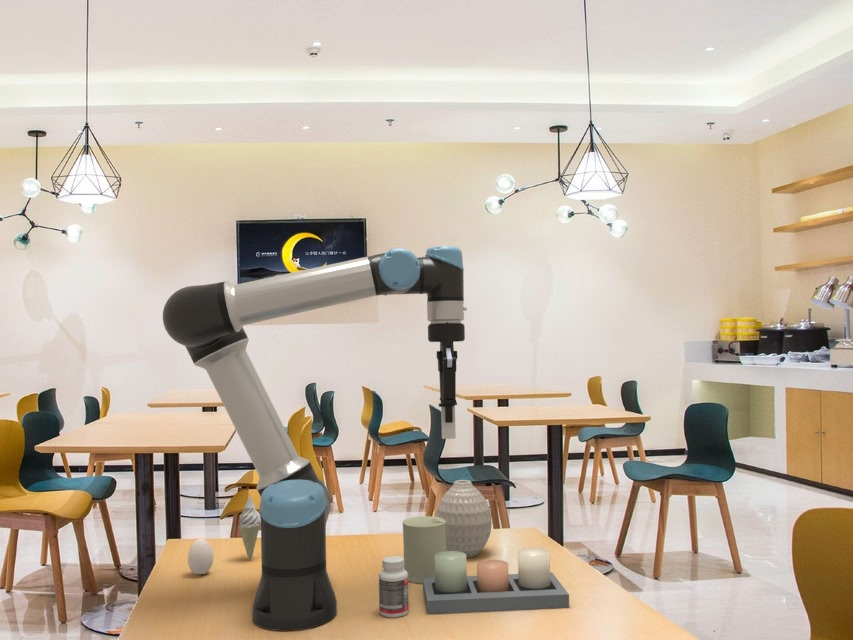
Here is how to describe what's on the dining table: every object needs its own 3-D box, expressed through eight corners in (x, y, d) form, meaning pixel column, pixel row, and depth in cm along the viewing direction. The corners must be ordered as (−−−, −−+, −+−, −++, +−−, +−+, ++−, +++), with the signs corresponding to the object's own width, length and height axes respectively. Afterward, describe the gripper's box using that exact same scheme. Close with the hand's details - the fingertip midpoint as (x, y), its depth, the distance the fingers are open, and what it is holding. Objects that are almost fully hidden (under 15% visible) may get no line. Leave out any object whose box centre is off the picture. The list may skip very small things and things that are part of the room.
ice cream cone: (266, 559, 172) (264, 493, 173) (249, 565, 168) (248, 497, 168) (250, 556, 175) (249, 491, 175) (234, 561, 171) (232, 495, 171)
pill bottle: (411, 616, 135) (410, 561, 135) (382, 619, 134) (380, 564, 134) (405, 606, 140) (404, 553, 140) (377, 609, 139) (376, 556, 139)
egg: (194, 580, 158) (193, 543, 158) (183, 574, 162) (183, 538, 162) (218, 574, 162) (217, 538, 162) (207, 569, 166) (206, 534, 166)
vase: (494, 561, 166) (492, 486, 167) (436, 562, 167) (434, 487, 167) (490, 545, 179) (488, 475, 180) (436, 546, 179) (434, 476, 180)
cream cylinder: (522, 589, 140) (521, 557, 141) (516, 579, 146) (515, 548, 147) (553, 587, 141) (552, 555, 141) (546, 577, 147) (545, 546, 147)
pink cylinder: (479, 602, 140) (479, 569, 140) (475, 591, 146) (474, 560, 146) (511, 600, 140) (510, 568, 140) (506, 589, 146) (505, 558, 146)
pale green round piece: (436, 593, 139) (436, 560, 140) (434, 582, 145) (433, 551, 146) (468, 591, 140) (468, 559, 140) (465, 581, 146) (464, 550, 146)
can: (443, 584, 152) (441, 525, 152) (398, 582, 154) (397, 523, 154) (450, 570, 161) (449, 514, 161) (408, 569, 163) (407, 513, 163)
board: (427, 614, 136) (427, 600, 136) (423, 590, 149) (422, 578, 149) (569, 607, 138) (568, 594, 138) (552, 584, 150) (552, 572, 151)
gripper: (468, 321, 147) (470, 442, 147) (460, 322, 160) (463, 433, 160) (429, 322, 147) (432, 443, 146) (425, 323, 160) (428, 434, 159)
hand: (448, 438), depth 153 cm, fingers closed
